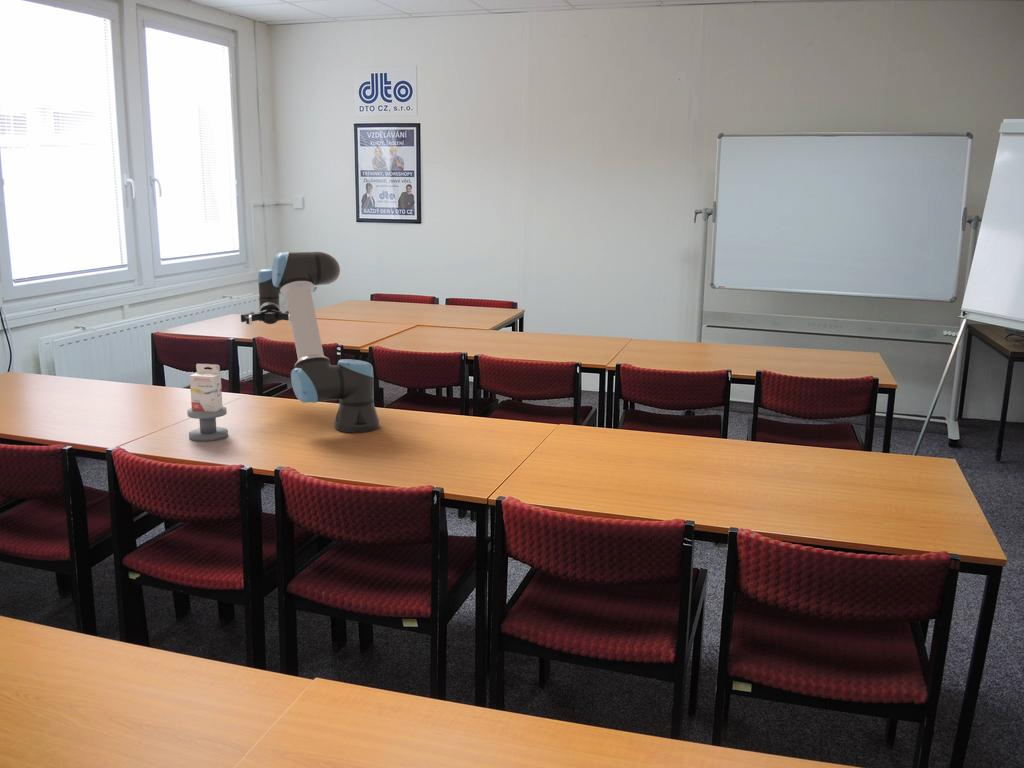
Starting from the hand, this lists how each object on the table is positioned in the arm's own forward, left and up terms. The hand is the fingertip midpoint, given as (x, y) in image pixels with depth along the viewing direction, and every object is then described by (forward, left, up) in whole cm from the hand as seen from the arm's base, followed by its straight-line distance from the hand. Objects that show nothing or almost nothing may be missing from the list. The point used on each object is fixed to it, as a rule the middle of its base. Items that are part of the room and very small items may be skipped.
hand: (270, 320), depth 294 cm
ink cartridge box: (-1, +33, -25) cm, 41 cm away
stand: (-1, +33, -34) cm, 47 cm away
